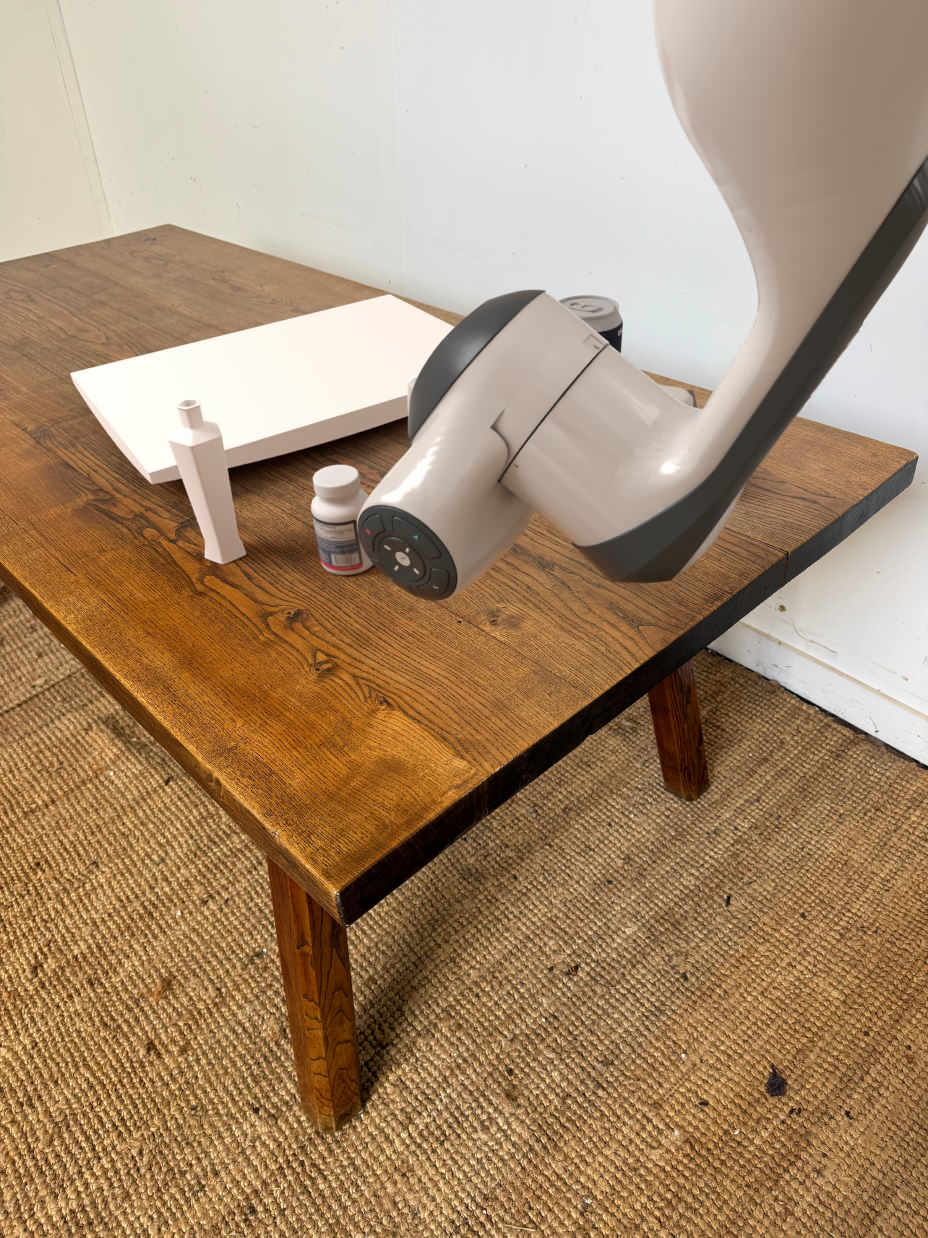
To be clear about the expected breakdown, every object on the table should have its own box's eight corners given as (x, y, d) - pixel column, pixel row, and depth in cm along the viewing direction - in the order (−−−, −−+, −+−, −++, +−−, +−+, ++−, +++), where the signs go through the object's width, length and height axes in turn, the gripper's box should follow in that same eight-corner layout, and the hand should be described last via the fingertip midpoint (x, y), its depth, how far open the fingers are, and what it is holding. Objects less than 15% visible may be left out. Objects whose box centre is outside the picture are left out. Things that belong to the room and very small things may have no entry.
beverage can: (592, 470, 71) (599, 322, 64) (533, 453, 74) (534, 309, 67) (626, 443, 75) (637, 300, 67) (569, 428, 77) (573, 288, 70)
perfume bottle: (261, 546, 84) (228, 397, 74) (229, 569, 81) (190, 417, 71) (226, 534, 86) (190, 387, 76) (193, 556, 83) (151, 407, 74)
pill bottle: (350, 538, 84) (338, 454, 78) (389, 557, 81) (379, 471, 76) (309, 563, 81) (292, 478, 75) (348, 583, 78) (334, 496, 73)
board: (392, 326, 129) (389, 293, 126) (521, 397, 107) (521, 360, 104) (82, 408, 111) (70, 372, 108) (161, 514, 89) (148, 473, 86)
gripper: (666, 423, 55) (721, 346, 65) (387, 378, 63) (473, 316, 73) (658, 510, 59) (711, 425, 69) (396, 457, 67) (476, 388, 77)
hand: (587, 369), depth 71 cm, fingers closed on beverage can, 5 cm apart
